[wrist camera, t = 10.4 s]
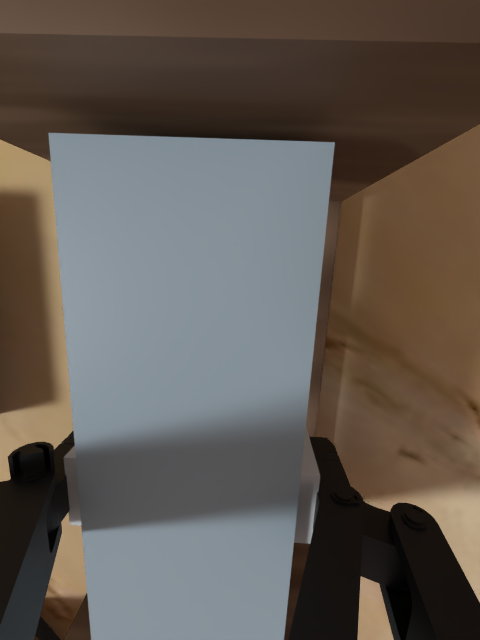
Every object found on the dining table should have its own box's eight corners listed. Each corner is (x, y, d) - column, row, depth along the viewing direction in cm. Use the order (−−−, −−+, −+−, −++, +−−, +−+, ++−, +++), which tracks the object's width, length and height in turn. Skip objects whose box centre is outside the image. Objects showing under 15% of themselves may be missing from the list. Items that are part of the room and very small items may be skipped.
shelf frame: (132, 173, 21) (-288, -87, 5) (337, 181, 21) (652, -80, 4) (142, 496, 27) (-34, 879, 11) (302, 508, 27) (380, 930, 10)
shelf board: (118, 171, 12) (48, 132, 8) (307, 179, 11) (334, 142, 7) (136, 620, 16) (99, 735, 13) (268, 631, 16) (272, 753, 12)
